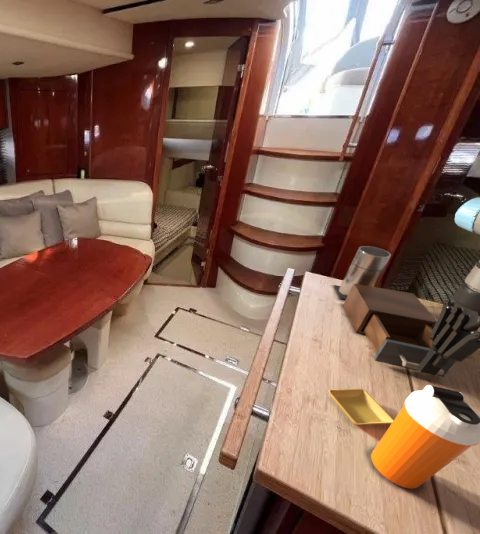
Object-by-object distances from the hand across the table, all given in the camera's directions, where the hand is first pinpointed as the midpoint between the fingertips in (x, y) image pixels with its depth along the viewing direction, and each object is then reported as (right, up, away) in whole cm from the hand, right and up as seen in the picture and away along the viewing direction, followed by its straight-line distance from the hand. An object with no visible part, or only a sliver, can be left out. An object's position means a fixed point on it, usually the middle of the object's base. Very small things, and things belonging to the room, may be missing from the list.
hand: (426, 371), depth 72 cm
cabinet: (+10, +7, +22) cm, 25 cm away
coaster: (+14, +15, +35) cm, 41 cm away
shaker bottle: (-22, -14, -13) cm, 29 cm away
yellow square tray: (-19, -8, -3) cm, 21 cm away
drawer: (+4, +1, +10) cm, 10 cm away
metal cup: (+14, +15, +35) cm, 41 cm away
